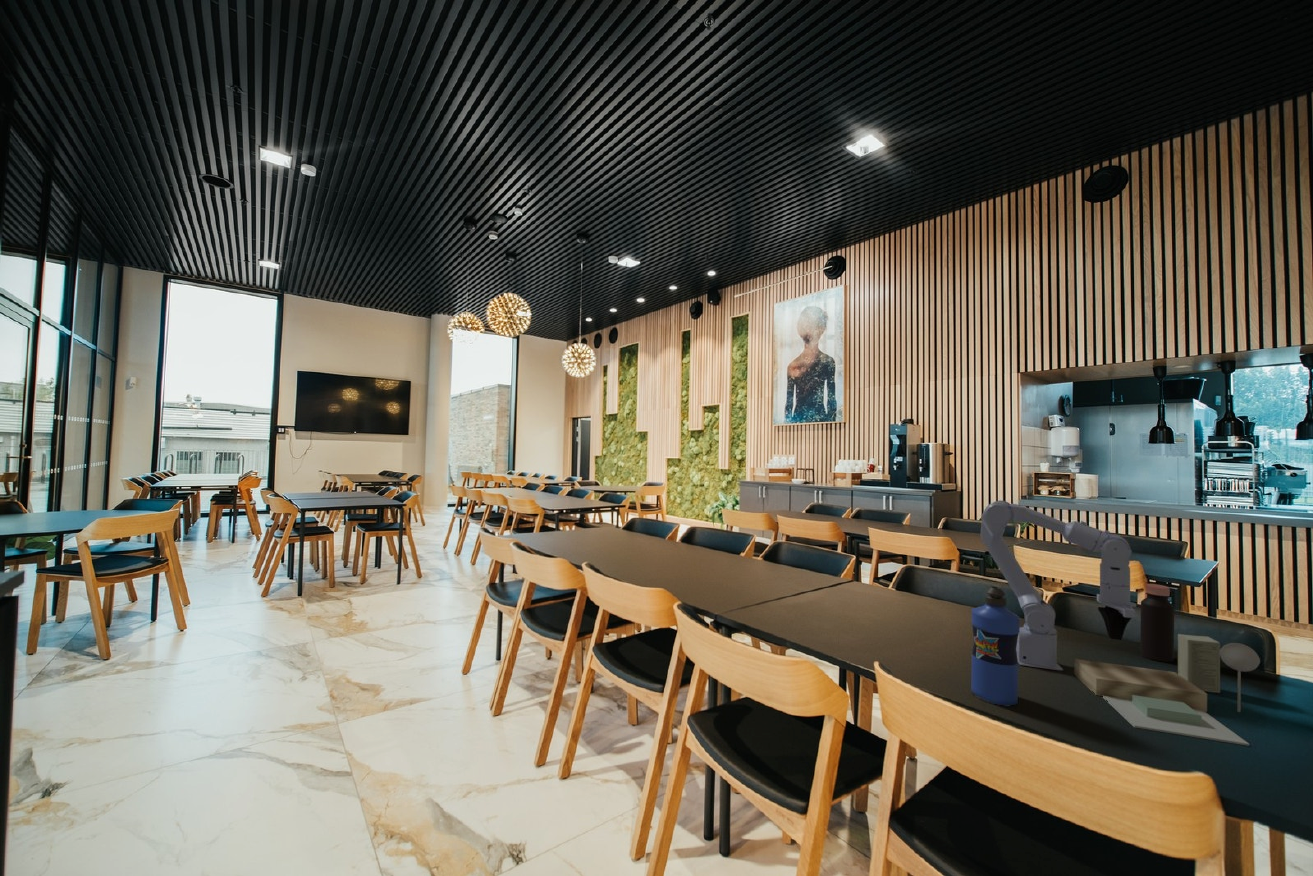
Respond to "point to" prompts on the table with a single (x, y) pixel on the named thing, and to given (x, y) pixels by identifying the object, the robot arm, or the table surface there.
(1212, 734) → the mat
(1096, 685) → the riser
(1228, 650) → the lollipop
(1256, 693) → the table surface
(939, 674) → the table surface
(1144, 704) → the tile
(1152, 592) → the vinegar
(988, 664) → the water bottle
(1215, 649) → the skincare box
